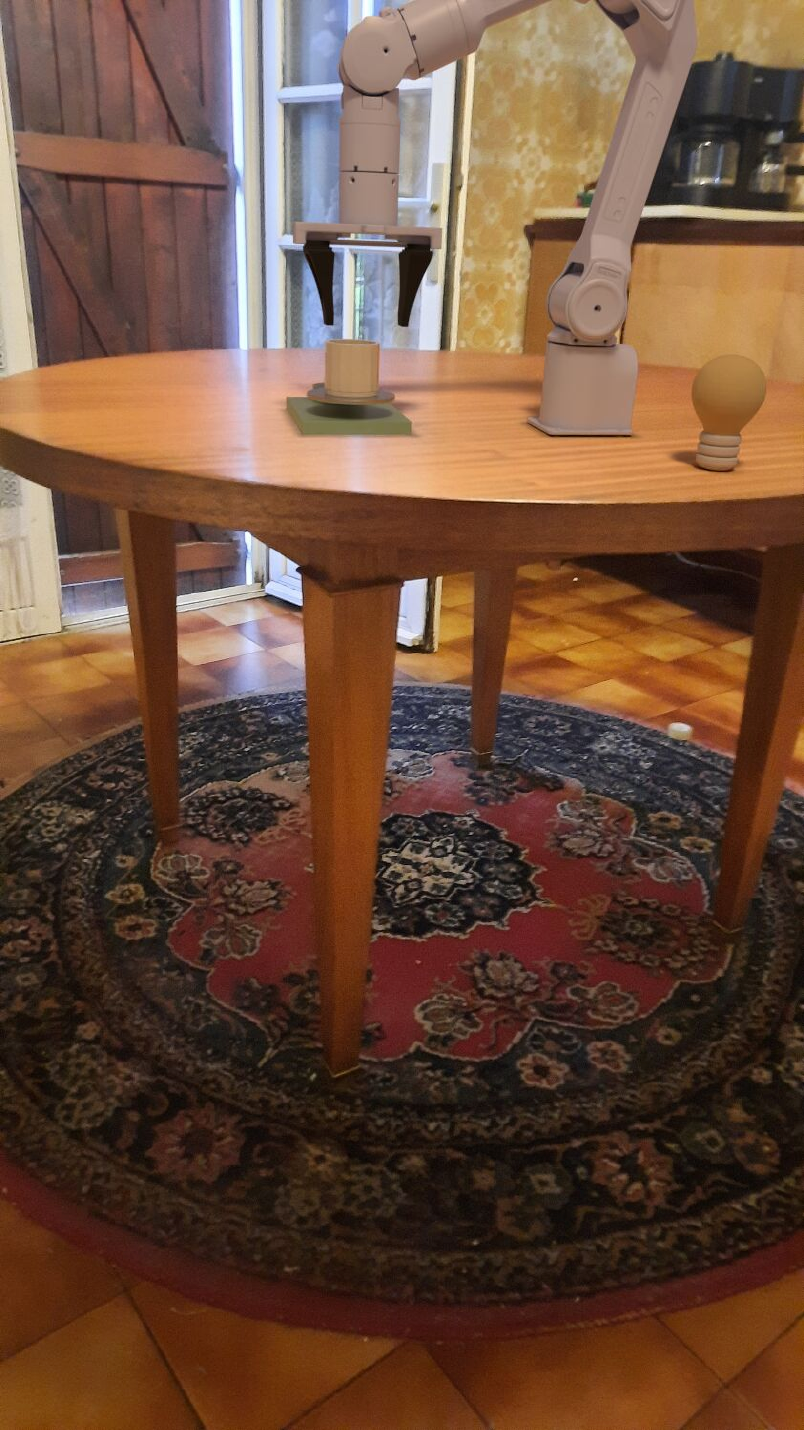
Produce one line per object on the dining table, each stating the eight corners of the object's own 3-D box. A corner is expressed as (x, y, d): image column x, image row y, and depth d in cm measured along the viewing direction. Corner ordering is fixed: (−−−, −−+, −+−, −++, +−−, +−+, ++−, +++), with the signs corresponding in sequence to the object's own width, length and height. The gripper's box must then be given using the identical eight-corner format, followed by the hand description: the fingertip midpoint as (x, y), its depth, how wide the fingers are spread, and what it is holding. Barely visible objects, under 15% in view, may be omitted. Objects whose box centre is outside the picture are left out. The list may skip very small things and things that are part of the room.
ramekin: (372, 389, 107) (373, 339, 105) (382, 398, 102) (383, 345, 100) (321, 389, 106) (321, 338, 104) (329, 397, 101) (329, 344, 99)
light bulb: (740, 479, 90) (762, 361, 86) (670, 468, 93) (688, 354, 89) (758, 467, 95) (780, 355, 91) (691, 458, 98) (709, 348, 94)
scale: (286, 409, 114) (286, 381, 113) (382, 410, 116) (383, 382, 115) (302, 435, 101) (302, 404, 99) (411, 435, 103) (412, 405, 102)
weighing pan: (385, 391, 109) (385, 387, 109) (402, 405, 101) (403, 401, 101) (302, 390, 107) (301, 386, 107) (312, 404, 100) (313, 400, 99)
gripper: (298, 168, 92) (299, 328, 98) (453, 176, 95) (445, 330, 101) (289, 171, 98) (291, 321, 104) (435, 178, 101) (428, 323, 107)
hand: (366, 325), depth 103 cm, fingers open, 7 cm apart
